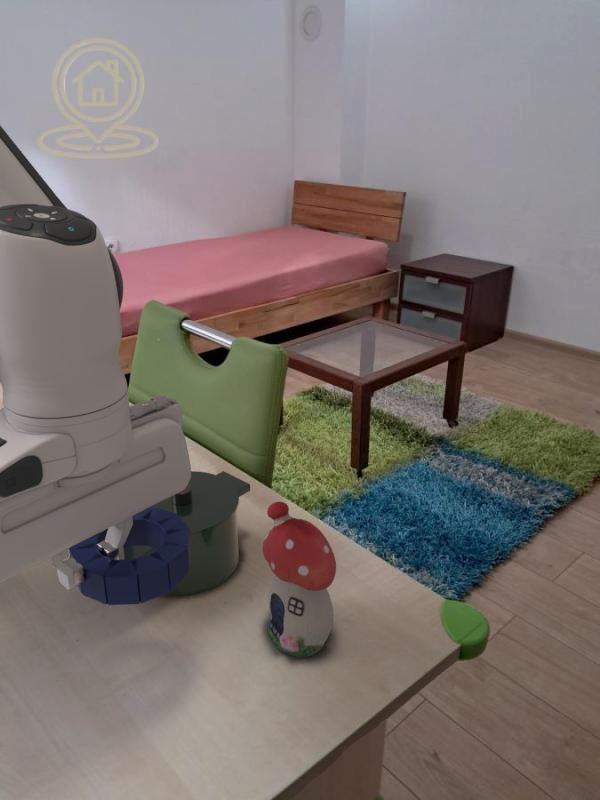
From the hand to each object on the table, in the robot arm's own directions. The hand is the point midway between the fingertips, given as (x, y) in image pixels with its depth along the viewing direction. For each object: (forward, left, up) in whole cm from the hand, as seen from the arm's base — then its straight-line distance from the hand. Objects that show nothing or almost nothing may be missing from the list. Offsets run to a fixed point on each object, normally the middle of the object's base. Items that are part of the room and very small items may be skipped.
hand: (92, 571), depth 54 cm
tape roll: (+3, +3, -2) cm, 4 cm away
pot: (+4, +19, -15) cm, 25 cm away
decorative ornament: (+18, +7, -15) cm, 25 cm away
